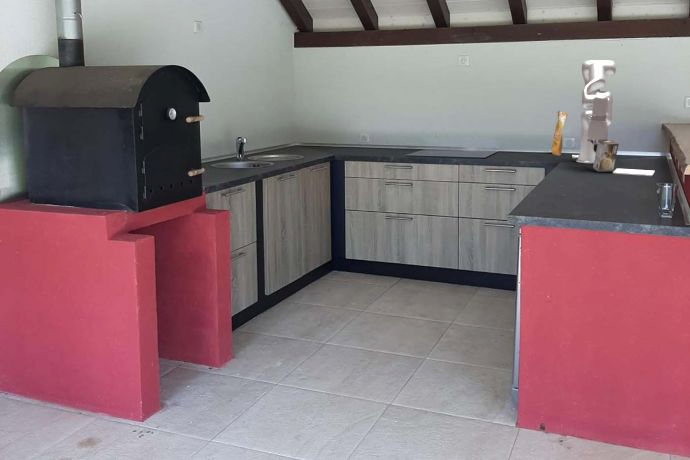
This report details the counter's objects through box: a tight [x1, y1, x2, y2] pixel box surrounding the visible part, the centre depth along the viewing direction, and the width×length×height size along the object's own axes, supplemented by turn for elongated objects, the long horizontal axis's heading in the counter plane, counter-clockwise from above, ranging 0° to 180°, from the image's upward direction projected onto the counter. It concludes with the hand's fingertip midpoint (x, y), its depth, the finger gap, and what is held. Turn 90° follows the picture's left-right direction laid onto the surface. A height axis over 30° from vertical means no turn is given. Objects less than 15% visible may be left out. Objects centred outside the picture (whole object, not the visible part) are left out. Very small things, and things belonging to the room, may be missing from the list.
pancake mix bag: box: [551, 110, 568, 156], centre depth 481 cm, size 7×19×28 cm, turn 173°
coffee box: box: [592, 139, 619, 173], centre depth 401 cm, size 9×6×16 cm
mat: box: [612, 168, 655, 177], centre depth 397 cm, size 20×16×1 cm
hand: (596, 152), depth 404 cm, fingers closed
